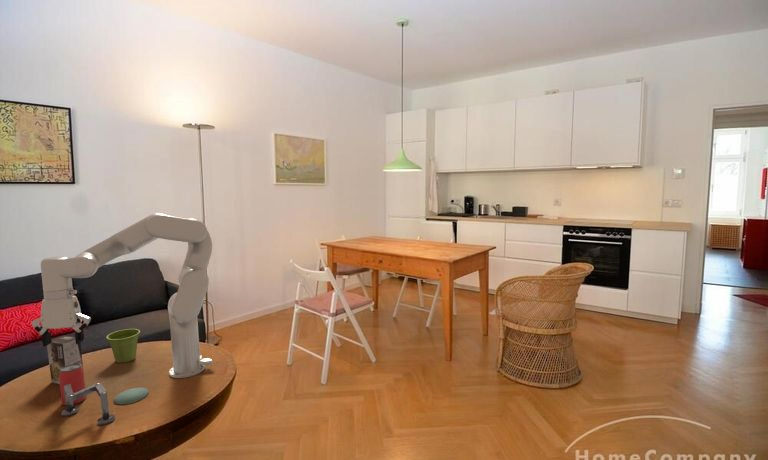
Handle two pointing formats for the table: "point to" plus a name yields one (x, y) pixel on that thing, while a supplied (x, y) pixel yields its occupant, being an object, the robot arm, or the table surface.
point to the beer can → (72, 380)
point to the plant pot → (124, 344)
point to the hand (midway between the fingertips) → (63, 343)
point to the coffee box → (63, 355)
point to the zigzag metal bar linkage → (72, 396)
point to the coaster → (131, 396)
